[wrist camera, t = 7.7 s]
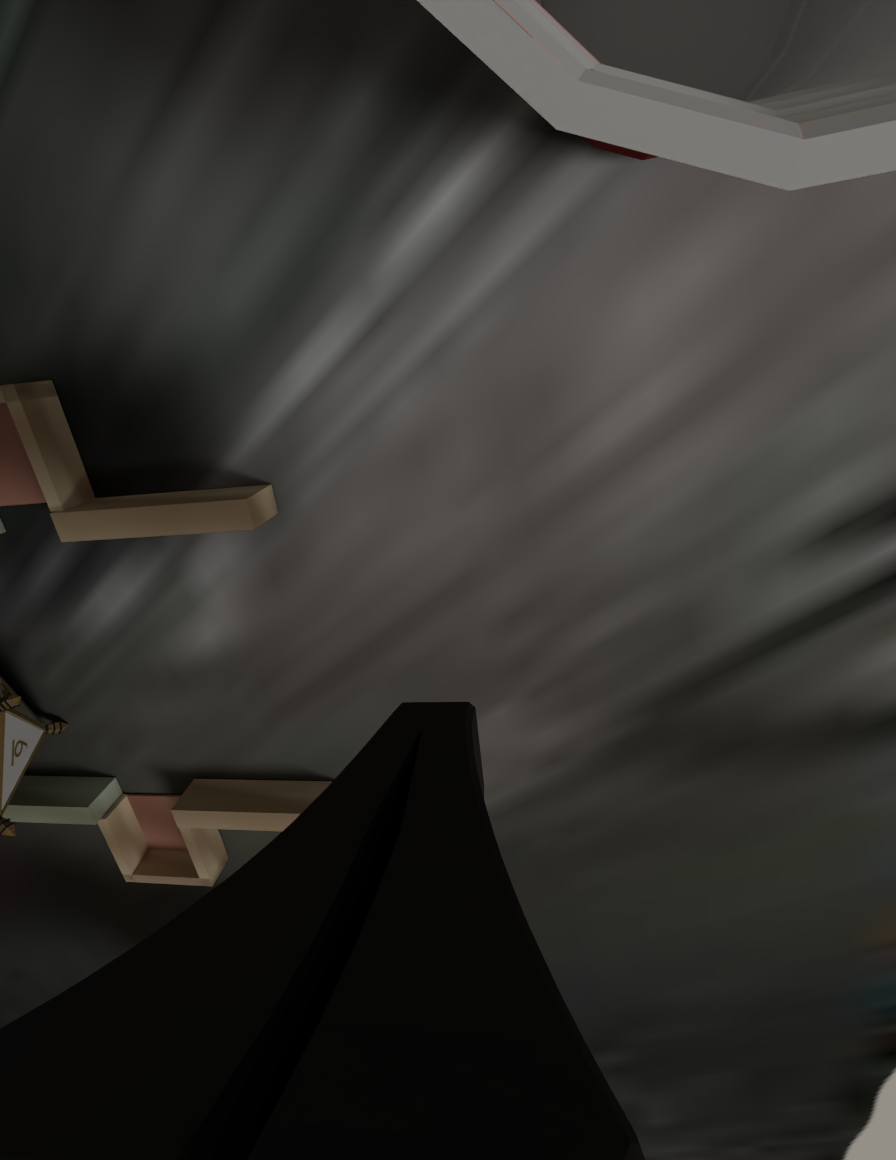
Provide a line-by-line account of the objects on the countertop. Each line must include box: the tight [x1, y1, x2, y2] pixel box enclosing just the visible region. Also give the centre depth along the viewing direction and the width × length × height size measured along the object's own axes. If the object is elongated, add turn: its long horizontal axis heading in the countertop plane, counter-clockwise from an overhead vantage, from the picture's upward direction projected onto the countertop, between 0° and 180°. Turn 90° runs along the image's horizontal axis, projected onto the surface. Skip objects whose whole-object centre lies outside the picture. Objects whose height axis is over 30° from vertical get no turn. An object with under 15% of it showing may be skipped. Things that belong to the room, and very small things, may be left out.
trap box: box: [0, 380, 333, 886], centre depth 22 cm, size 22×22×3 cm
